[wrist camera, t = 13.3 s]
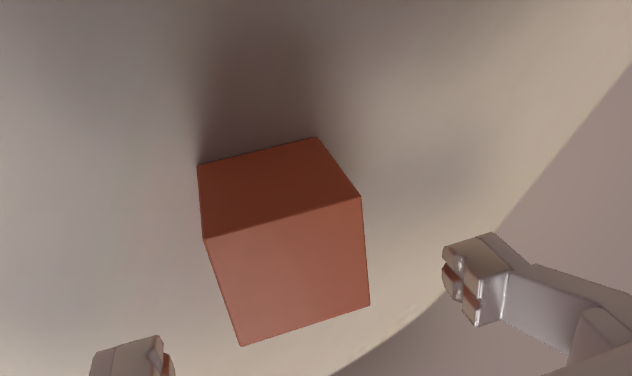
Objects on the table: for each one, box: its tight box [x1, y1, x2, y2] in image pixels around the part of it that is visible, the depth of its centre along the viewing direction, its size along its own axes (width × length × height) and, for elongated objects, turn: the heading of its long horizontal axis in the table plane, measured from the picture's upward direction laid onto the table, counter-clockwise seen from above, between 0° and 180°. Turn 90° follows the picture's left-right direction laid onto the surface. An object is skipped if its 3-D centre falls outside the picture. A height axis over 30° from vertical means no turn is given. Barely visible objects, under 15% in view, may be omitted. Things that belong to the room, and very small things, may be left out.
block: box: [197, 137, 370, 347], centre depth 14 cm, size 4×4×4 cm
